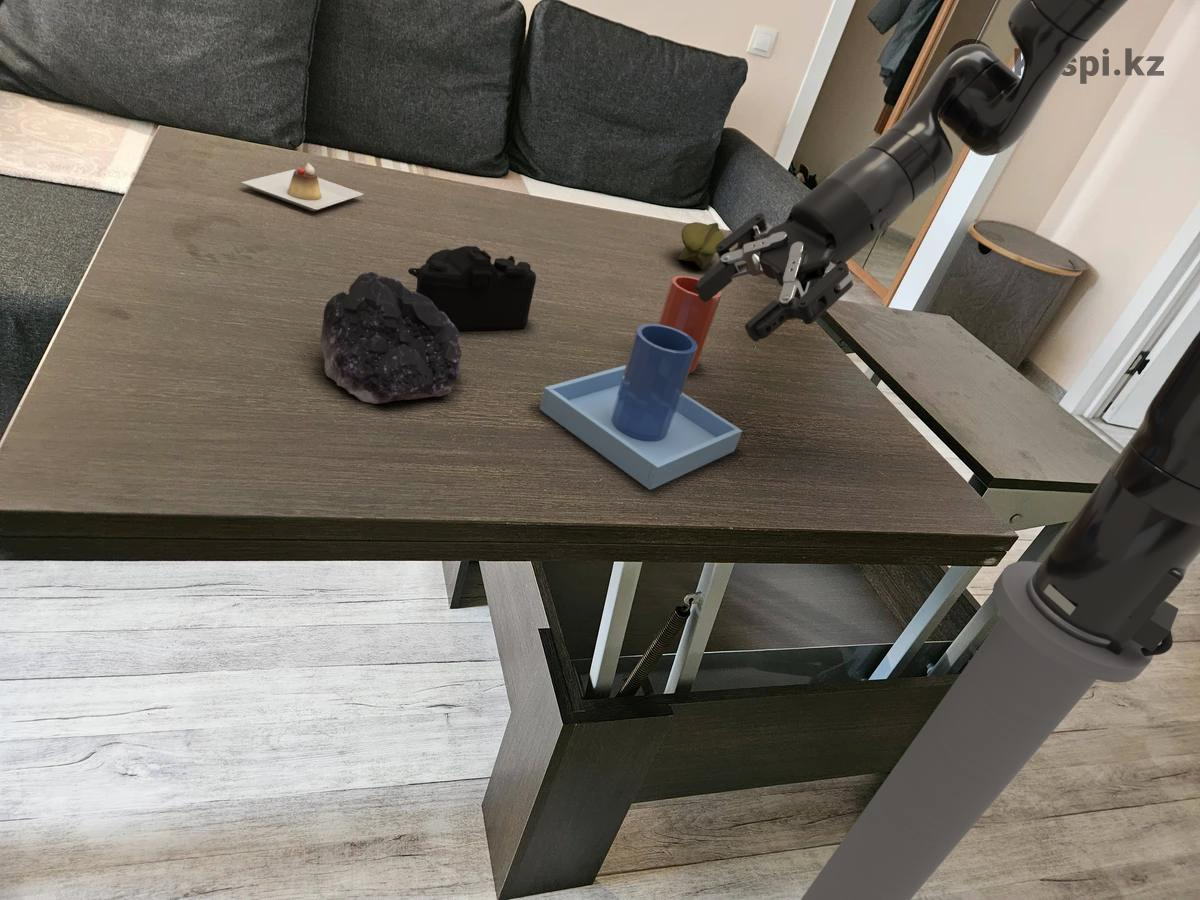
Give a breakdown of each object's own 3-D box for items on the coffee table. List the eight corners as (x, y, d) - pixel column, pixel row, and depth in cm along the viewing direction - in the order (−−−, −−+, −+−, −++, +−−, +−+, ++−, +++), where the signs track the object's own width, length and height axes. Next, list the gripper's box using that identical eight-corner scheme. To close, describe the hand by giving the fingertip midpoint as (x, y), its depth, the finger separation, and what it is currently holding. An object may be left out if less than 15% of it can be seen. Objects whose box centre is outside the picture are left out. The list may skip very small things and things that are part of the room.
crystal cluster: (463, 422, 76) (488, 326, 72) (314, 401, 71) (332, 296, 66) (446, 364, 87) (467, 278, 82) (316, 342, 81) (331, 249, 77)
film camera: (501, 296, 102) (514, 228, 97) (535, 331, 95) (550, 260, 91) (385, 296, 93) (393, 222, 89) (414, 334, 87) (424, 257, 82)
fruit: (652, 246, 135) (663, 208, 132) (709, 251, 141) (721, 215, 138) (685, 273, 127) (697, 234, 124) (744, 278, 133) (757, 240, 129)
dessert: (240, 190, 110) (240, 155, 108) (293, 176, 120) (295, 144, 118) (316, 217, 109) (318, 182, 106) (363, 201, 119) (366, 169, 116)
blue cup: (679, 433, 82) (709, 347, 77) (642, 447, 78) (671, 357, 72) (636, 404, 85) (662, 320, 79) (599, 417, 80) (624, 328, 75)
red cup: (704, 368, 98) (731, 294, 93) (675, 377, 94) (701, 300, 89) (668, 346, 101) (692, 273, 96) (639, 354, 97) (661, 278, 92)
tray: (734, 451, 83) (742, 430, 81) (649, 490, 73) (657, 467, 71) (629, 382, 90) (635, 362, 89) (539, 409, 80) (544, 387, 79)
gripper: (794, 154, 79) (670, 258, 79) (897, 204, 70) (756, 322, 70) (812, 210, 85) (696, 307, 85) (910, 264, 75) (779, 373, 75)
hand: (723, 314), depth 77 cm, fingers open, 8 cm apart
